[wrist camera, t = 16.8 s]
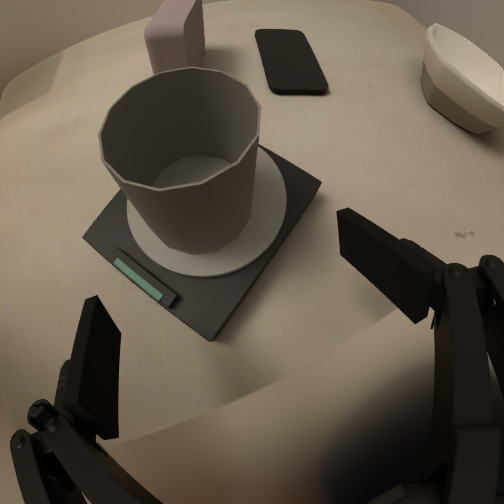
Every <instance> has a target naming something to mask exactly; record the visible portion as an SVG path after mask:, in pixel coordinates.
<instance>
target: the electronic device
mask: <svg viewBox="0 0 504 504" xmlns="http://www.w3.org/2000/svg"><path fill="white" fill-rule="evenodd" d="M144 37H145V42H146V46H147V50H148V54H149V58H150V62H151V66H152V69H153V73H154V75H155V74H157V73H159V72H163V71H169V70H174V69H180V68H186V67H199V68H200V65H201V61H202V58H203V55H204V50H205V37H204V23H203V8H202V0H165V1H164V2H163V4H162V5H161V6H160V8H159V9H158V11H157V12H156V14H155V15H154V16H153V18H152V19H151V21H150V22H149V24H148V25H147V27H146V28H145V32H144Z"/></svg>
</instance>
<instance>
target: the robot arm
mask: <svg viewBox="0 0 504 504" xmlns="http://www.w3.org/2000/svg"><path fill="white" fill-rule="evenodd" d="M337 221H338V232H339V244H340V255H341V256H342V257H343V258H345V259H346V260H347V261H348V262H349V263H350V264H351V265H352V266H354V267H355V268H356V269H357V270H358V271H359V272H360V273H361V274H362V275H363V276H365V277H366V278H367V279H368V280H369V281H370V282H371V283H372V284H373V285H374V286H375V287H377V288H378V289H379V290H380V291H381V292H382V293H383V294H384V295H385V296H386V297H387V298H388V299H389V300H390V301H391V302H392V303H394V304H395V305H396V306H397V307H398V308H399V309H400V310H401V311H402V312H403V313H404V314H405V315H406V316H407V317H408V318H409V319H410V320H411V321H412V322H413V323H414V324H416V323H418V322H420V321H421V320H423V319H424V318H426V317H427V316H428V311H429V307H431V308H432V309H433V310H434V311H435V312H434V316H433V320H432V324H431V329H433V326H434V339H435V340H434V342H435V373H434V397H433V412H432V422H431V431H430V439H429V446H428V453H427V457H426V459H425V462H424V464H423V467H422V470H421V474H420V479H419V482H417V483H412V484H407V485H404V486H403V485H402V483H400V484H398V485H397V486H395V487H393V488H392V489H390V490H388V491H387V492H385V493H383V494H381V495H379V496H378V497H376V498H374V499H372V500H371V501H370V502H368V503H367V504H504V493H497V492H496V491H497V482H498V473H499V459H500V429H499V427H498V425H495V424H493V421H492V399H491V383H490V372H489V363H488V355H489V357H490V360H491V363H492V365H493V368H494V371H495V374H496V377H497V380H498V383H499V386H500V388H501V392H502V395H503V398H504V263H503V261H502V260H501V259H500V258H498V257H496V256H494V255H484V256H482V257H481V258H480V262H479V266H477V267H473V268H469V269H468V268H467V267H466V266H464V265H462V264H458V263H450V264H446V263H444V262H443V261H441V260H440V259H439V258H437V257H436V256H434V255H433V254H431V253H430V252H428V251H426V250H425V249H424V248H422V247H420V246H419V245H418V244H416V243H415V242H413V241H411V240H407V239H404V238H402V239H400V240H399V239H397V238H396V237H394V236H393V235H391V234H390V233H388V232H387V231H385V230H384V229H382V228H381V227H379V226H377V225H376V224H374V223H373V222H371V221H370V220H368V219H366V218H365V217H363V216H362V215H360V214H358V213H357V212H355V211H353V210H352V209H350V208H345V209H342V210H339V211H337ZM494 300H495V302H494ZM495 303H496V304H495ZM120 344H121V332H120V331H119V329H118V328H117V326H116V325H115V323H114V321H113V320H112V318H111V317H110V315H109V314H108V312H107V310H106V309H105V307H104V305H103V304H102V302H101V300H100V299H99V297H98V295H96V296H93V297H91V298H88V299H85V302H84V306H83V309H82V313H81V317H80V321H79V325H78V328H77V333H76V337H75V341H74V345H73V350H72V354H71V359H70V360H66V361H65V363H64V364H63V366H62V368H61V370H60V375H59V380H58V385H57V386H58V388H57V390H56V396H55V402H54V406H52V405H51V404H50V403H49V402H48V401H47V400H46V399H40V400H37V401H36V402H35V403H33V404H32V406H31V407H30V409H29V411H28V415H27V420H28V423H29V424H30V425H32V426H33V427H34V428H35V429H37V430H38V431H37V432H35V433H33V434H29V433H28V432H27V431H26V430H24V429H20V430H17V431H16V432H15V433H14V434H13V436H12V438H11V441H10V449H11V454H12V459H13V463H14V467H15V471H16V475H17V479H18V483H19V486H20V490H21V493H22V497H23V500H24V503H25V504H87V502H86V500H85V498H84V496H83V494H84V495H85V496H86V497H87V499H88V500H89V501H90V502H91V503H92V504H163V503H162V502H160V501H159V500H158V499H157V498H155V497H154V496H153V495H152V494H151V493H150V492H148V491H147V490H146V489H145V488H144V487H143V486H141V485H140V484H139V483H138V482H137V481H136V480H135V479H134V478H133V477H132V476H130V475H129V474H128V473H127V472H126V471H125V470H124V469H123V468H122V467H121V466H120V465H119V464H118V463H117V462H116V461H115V460H114V459H113V458H112V457H111V456H110V455H109V454H108V453H107V452H106V451H105V449H104V448H103V447H102V446H101V445H100V444H98V443H97V442H96V434H97V435H98V436H99V437H101V438H102V439H103V440H108V439H114V438H119V425H118V388H119V360H120ZM487 352H488V355H487ZM81 491H82V492H83V494H82V492H81Z"/></svg>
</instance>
